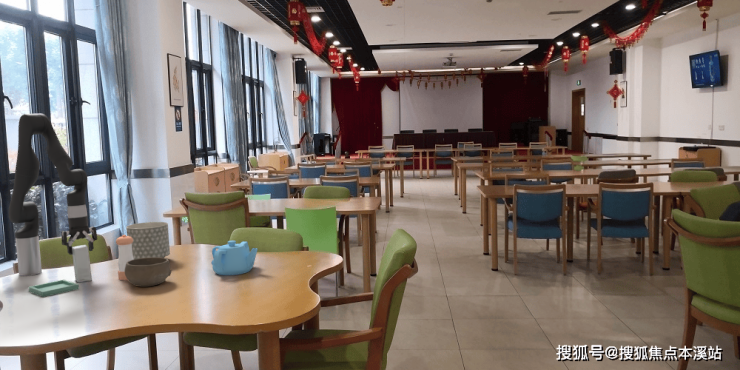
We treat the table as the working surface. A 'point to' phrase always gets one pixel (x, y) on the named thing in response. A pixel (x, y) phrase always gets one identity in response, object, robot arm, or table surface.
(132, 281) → the bowl
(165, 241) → the planter
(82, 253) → the skincare box
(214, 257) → the teapot
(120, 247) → the salt shaker
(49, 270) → the table surface
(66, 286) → the tray
